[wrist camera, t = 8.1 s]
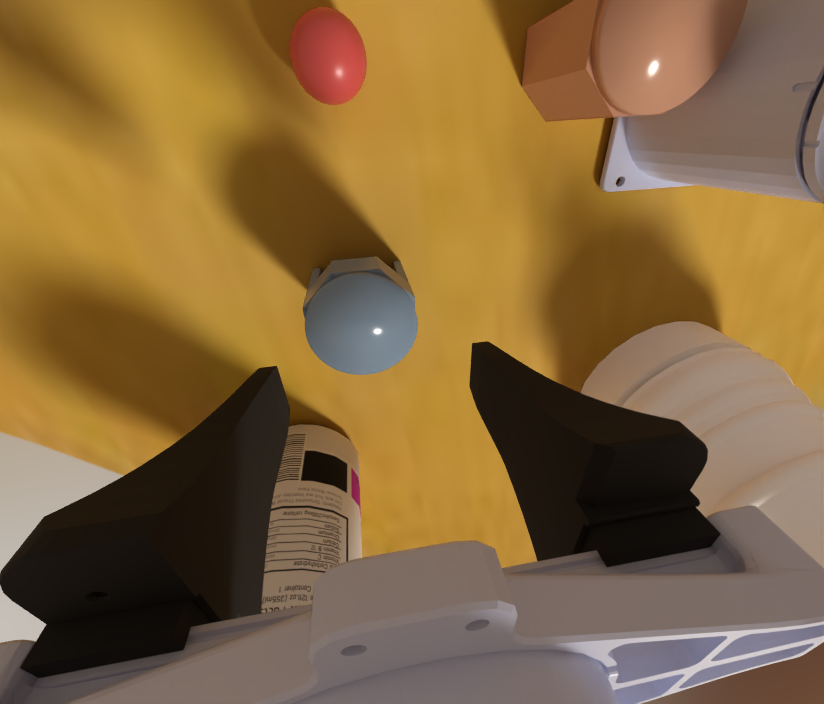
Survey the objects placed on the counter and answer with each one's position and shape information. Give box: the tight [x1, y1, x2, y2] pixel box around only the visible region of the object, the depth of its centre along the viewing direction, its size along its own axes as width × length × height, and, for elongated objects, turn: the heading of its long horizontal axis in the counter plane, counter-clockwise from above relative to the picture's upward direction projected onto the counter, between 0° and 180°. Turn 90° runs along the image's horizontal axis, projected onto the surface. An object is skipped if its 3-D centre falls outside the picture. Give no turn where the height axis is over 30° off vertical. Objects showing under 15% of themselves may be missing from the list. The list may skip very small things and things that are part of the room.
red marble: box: [290, 7, 367, 105], centre depth 14 cm, size 3×3×3 cm
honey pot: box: [580, 321, 824, 568], centre depth 22 cm, size 13×13×18 cm
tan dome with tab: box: [522, 0, 748, 121], centre depth 14 cm, size 5×5×6 cm
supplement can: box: [261, 424, 362, 614], centre depth 21 cm, size 8×8×15 cm
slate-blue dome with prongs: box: [303, 256, 418, 375], centre depth 18 cm, size 5×5×6 cm
